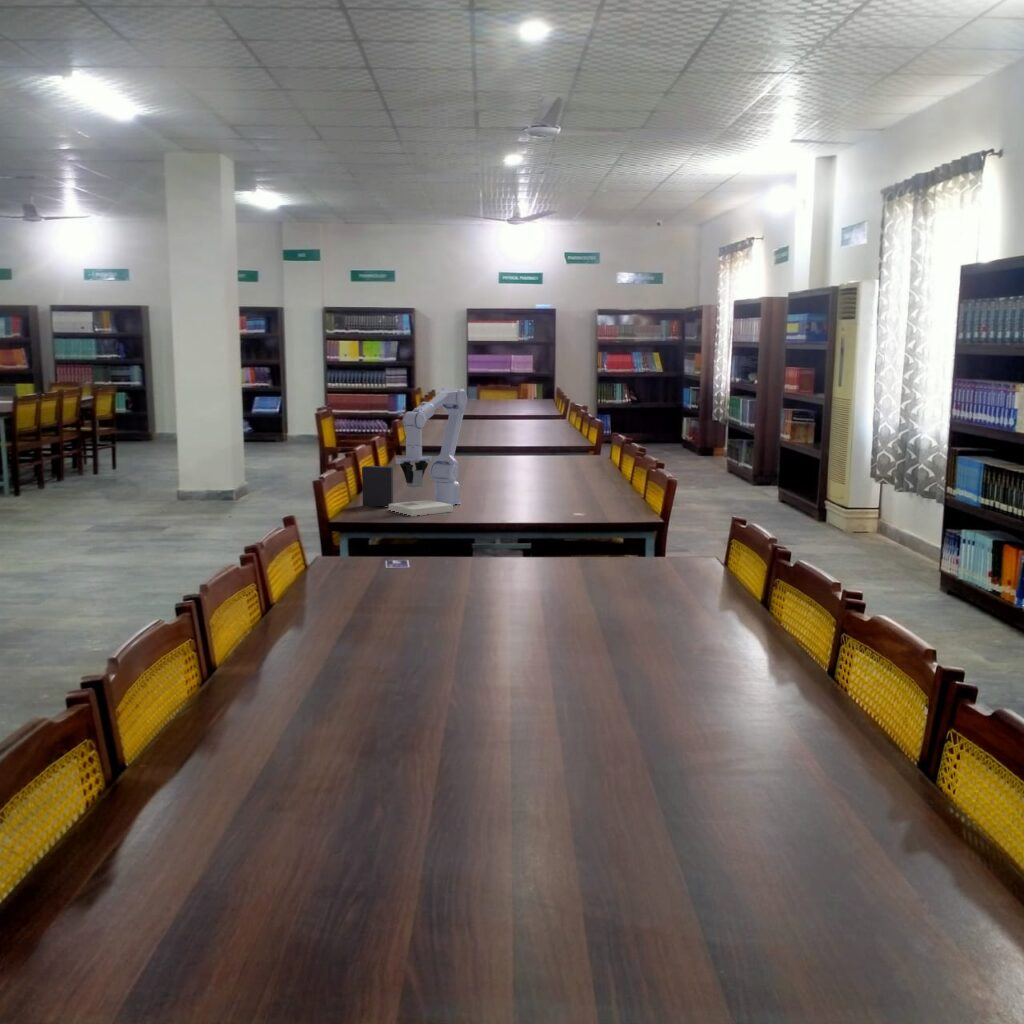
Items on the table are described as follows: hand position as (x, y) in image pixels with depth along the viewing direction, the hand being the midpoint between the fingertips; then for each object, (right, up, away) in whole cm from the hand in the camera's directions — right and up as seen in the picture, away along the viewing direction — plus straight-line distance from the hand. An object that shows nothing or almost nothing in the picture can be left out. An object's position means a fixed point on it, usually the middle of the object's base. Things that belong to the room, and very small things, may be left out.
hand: (413, 482), depth 351 cm
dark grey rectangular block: (-14, -9, +11) cm, 20 cm away
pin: (0, -1, 0) cm, 1 cm away
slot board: (+2, -10, +1) cm, 11 cm away
